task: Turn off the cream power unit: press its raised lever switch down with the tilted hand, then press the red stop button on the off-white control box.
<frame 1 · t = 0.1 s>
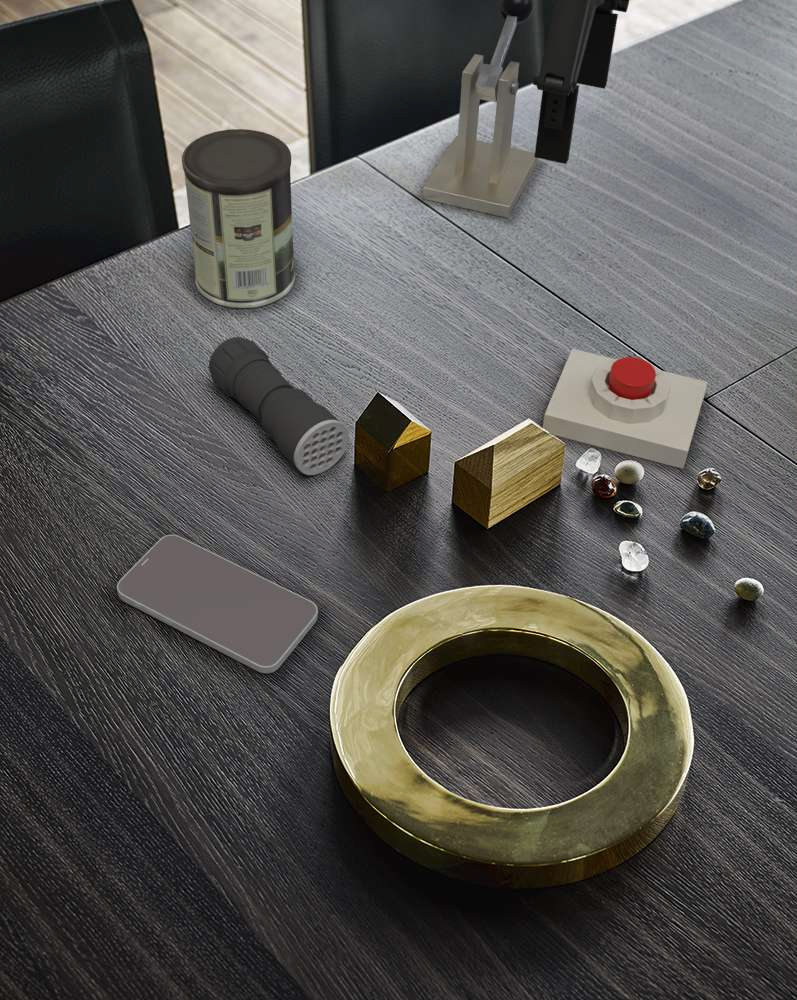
hand: (571, 120, 107), 23 cm above the table, tool pointing down, fingers open, 13 cm apart
lever: (504, 42, 135), point 14 cm above the table, hinge at 28.0°
flashlight: (278, 426, 113), on the table
stop button: (631, 378, 112), point 4 cm above the table, slide at 0.1 cm
smartphone: (217, 606, 99), on the table
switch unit: (480, 181, 143), on the table
stop box: (623, 415, 116), on the table
coffee can: (244, 280, 128), on the table
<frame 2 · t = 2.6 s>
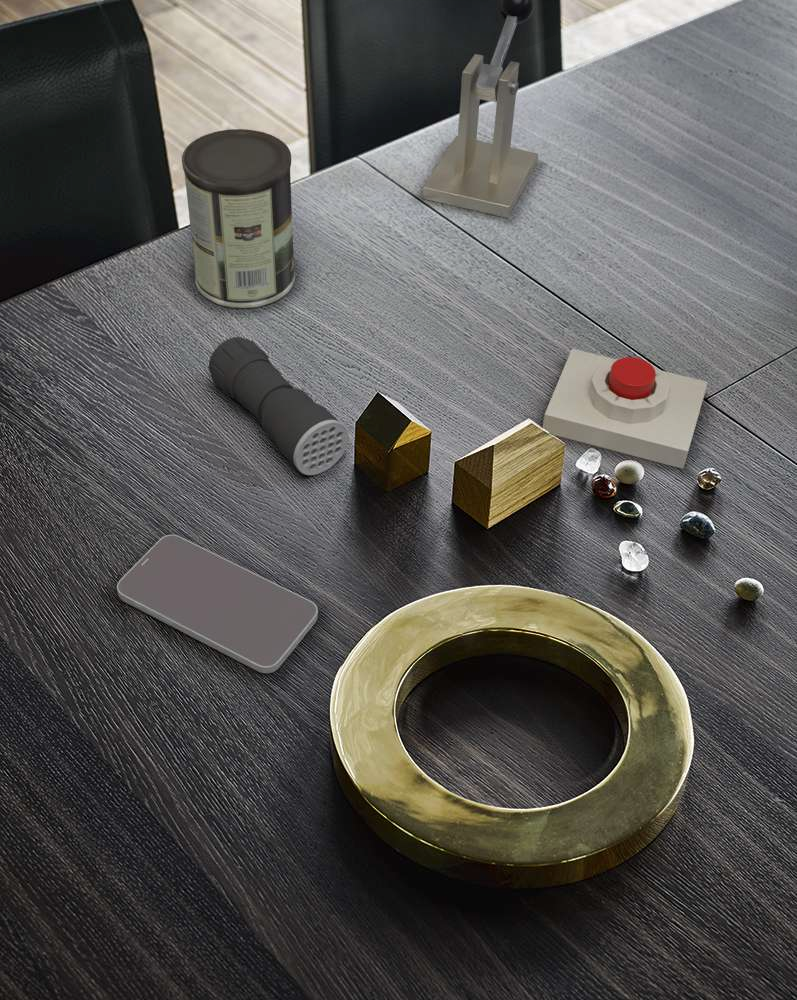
nothing on the table moved.
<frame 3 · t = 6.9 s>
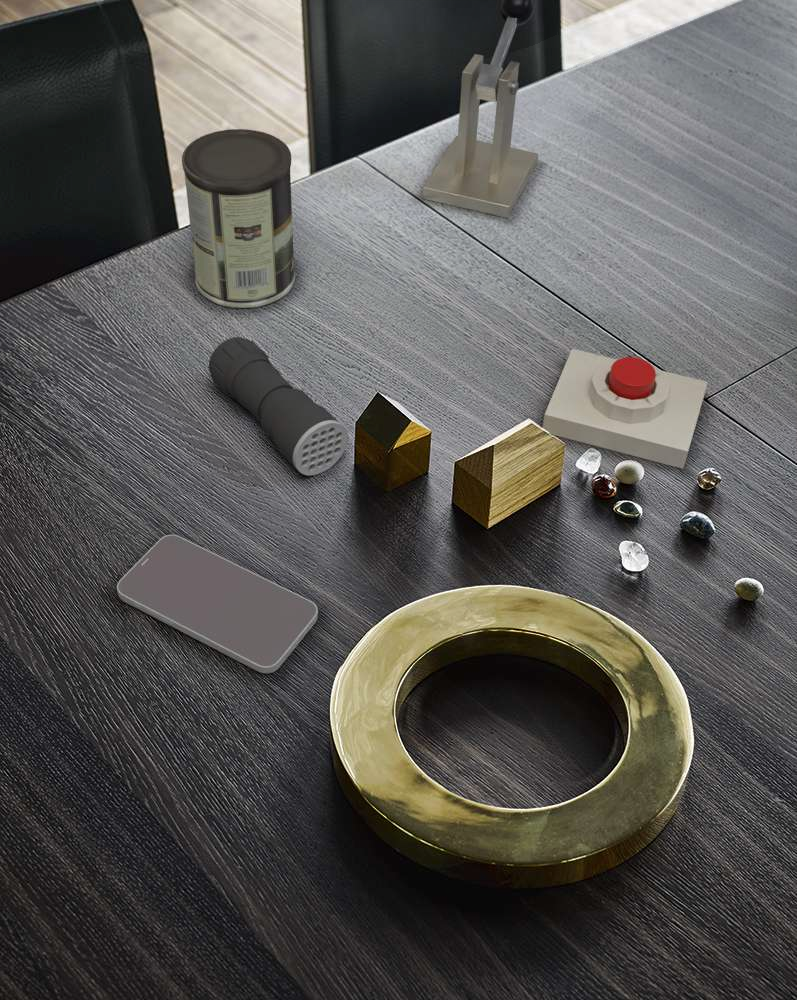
lever: (504, 43, 135), point 14 cm above the table, hinge at 26.3°, touching gripper
everything else where it was.
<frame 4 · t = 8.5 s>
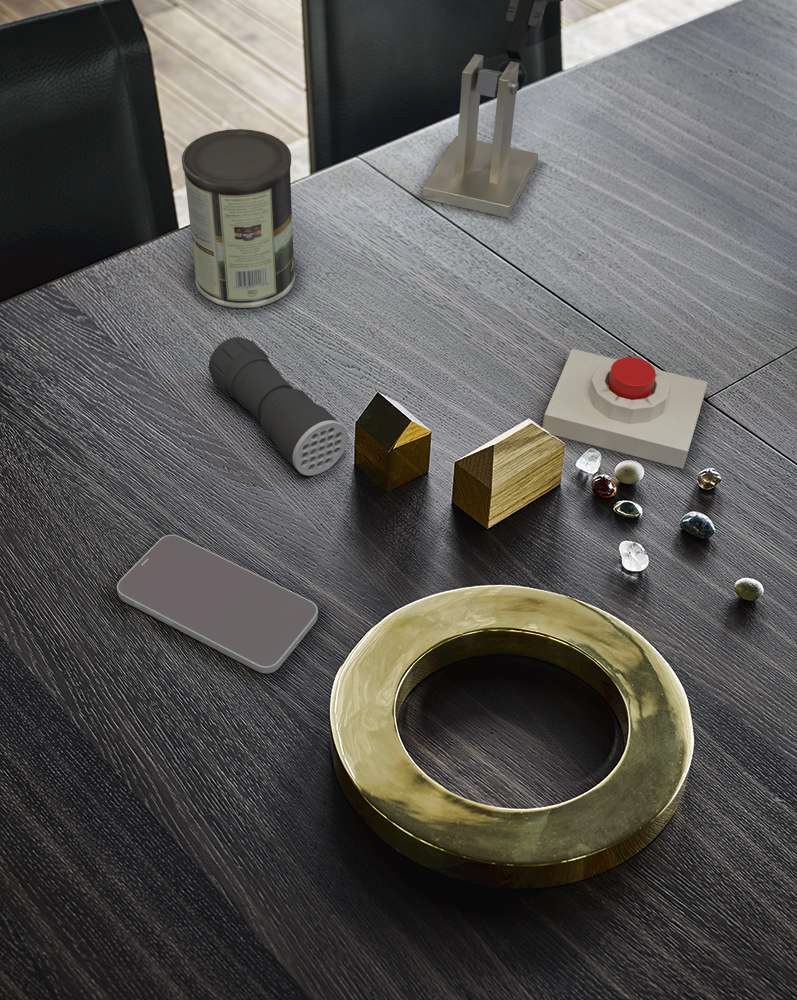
hand: (513, 55, 142), 11 cm above the table, tool tilted 45°, fingers closed
lever: (500, 79, 139), point 10 cm above the table, hinge at -21.8°
everything else where it was.
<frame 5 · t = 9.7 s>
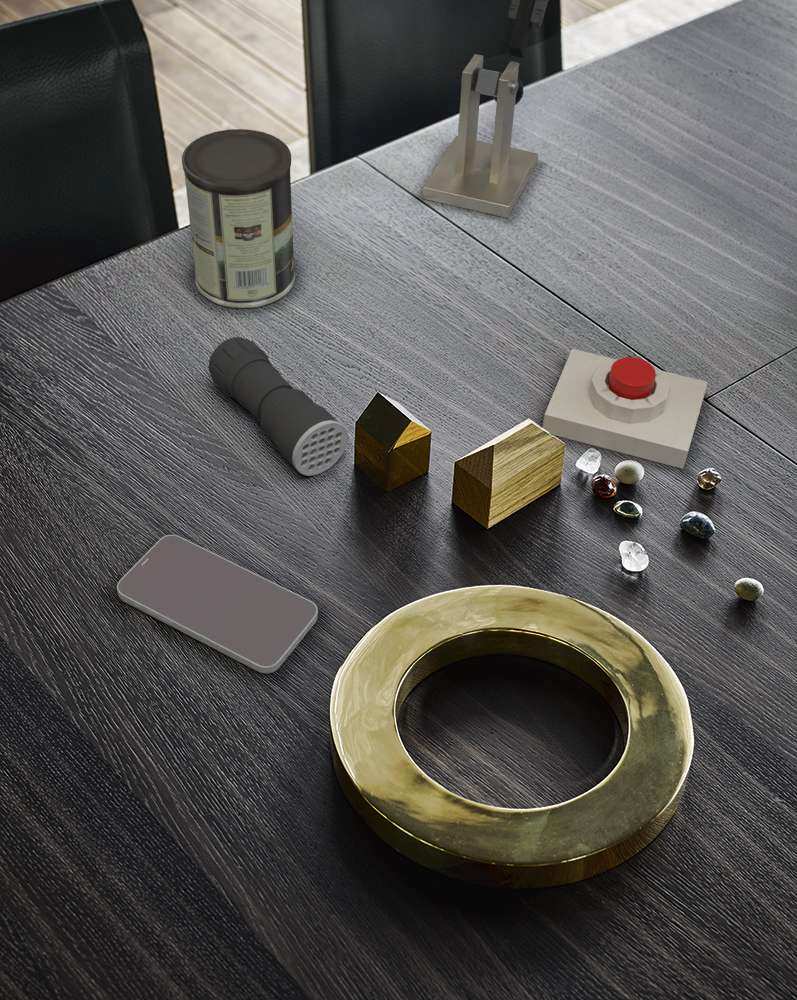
hand: (515, 52, 142), 11 cm above the table, tool tilted 45°, fingers closed
lever: (499, 87, 139), point 9 cm above the table, hinge at -30.5°
everything else where it was.
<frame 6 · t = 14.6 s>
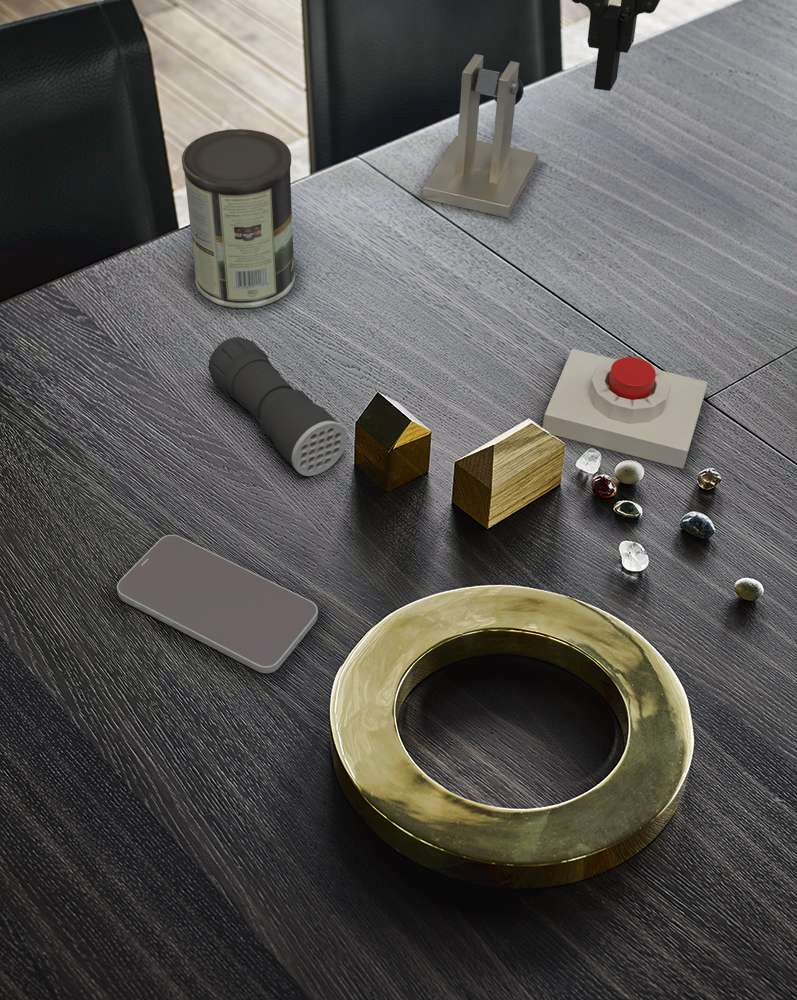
hand: (605, 83, 112), 23 cm above the table, tool pointing down, fingers closed
nothing on the table moved.
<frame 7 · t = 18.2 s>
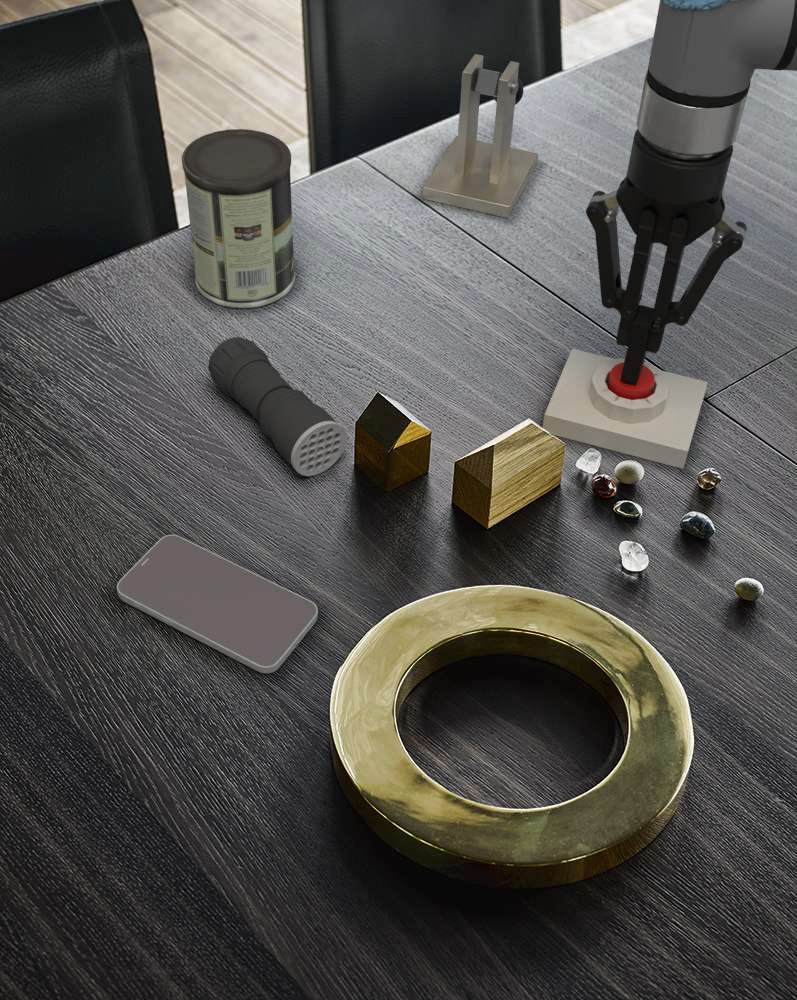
hand: (631, 373, 112), 5 cm above the table, tool pointing down, fingers closed
stop button: (630, 383, 113), point 4 cm above the table, slide at -0.5 cm, touching gripper
everything else where it was.
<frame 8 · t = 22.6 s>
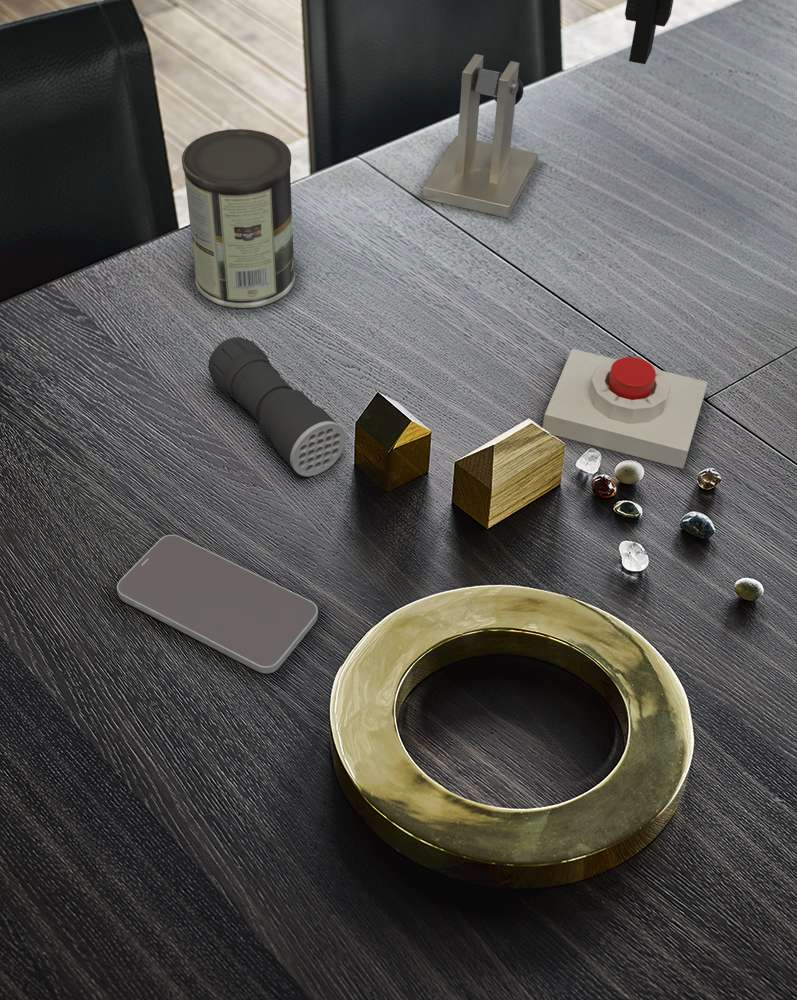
hand: (640, 56, 113), 24 cm above the table, tool pointing down, fingers closed
stop button: (631, 378, 112), point 4 cm above the table, slide at 0.1 cm
everything else where it was.
at the end: lever at -30° (first picture: +28°); stop button pushed in 1.0 cm at the most during the clip, back to where it started at the end; stop button slide at 0.1 cm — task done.
